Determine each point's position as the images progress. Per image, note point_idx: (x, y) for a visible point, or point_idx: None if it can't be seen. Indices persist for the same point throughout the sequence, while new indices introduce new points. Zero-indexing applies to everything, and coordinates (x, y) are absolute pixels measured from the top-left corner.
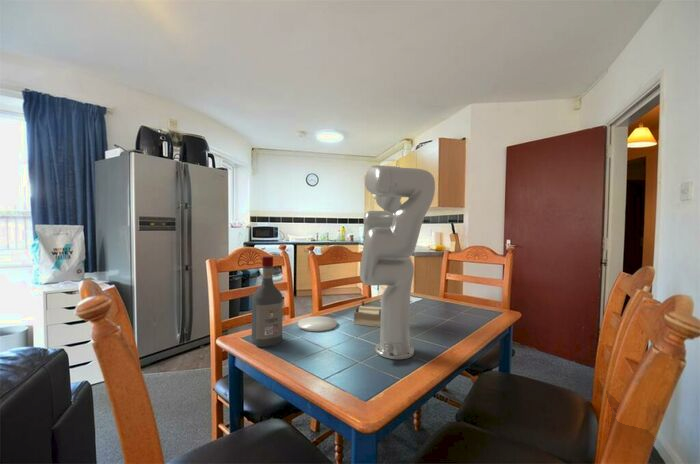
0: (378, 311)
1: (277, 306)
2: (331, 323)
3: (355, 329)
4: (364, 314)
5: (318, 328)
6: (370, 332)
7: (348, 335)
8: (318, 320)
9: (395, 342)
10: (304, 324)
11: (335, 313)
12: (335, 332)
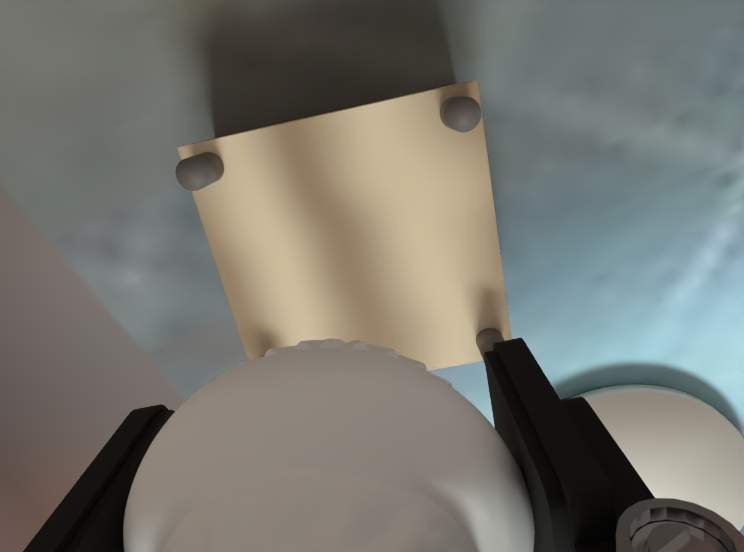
0: (371, 172)
1: None
2: (610, 426)
3: (593, 252)
4: (498, 261)
5: (737, 443)
6: (613, 123)
7: (730, 239)
8: None
9: None
10: None
11: None
12: (702, 339)
